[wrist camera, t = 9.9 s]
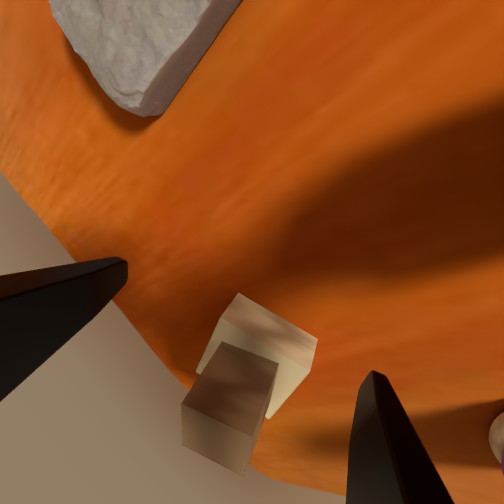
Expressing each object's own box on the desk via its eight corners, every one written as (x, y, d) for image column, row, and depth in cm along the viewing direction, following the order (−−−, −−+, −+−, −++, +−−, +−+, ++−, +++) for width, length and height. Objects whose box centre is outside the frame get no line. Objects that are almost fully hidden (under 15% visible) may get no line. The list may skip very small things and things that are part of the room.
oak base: (318, 336, 25) (310, 371, 21) (281, 383, 29) (269, 419, 26) (240, 290, 26) (220, 317, 22) (215, 342, 30) (195, 371, 27)
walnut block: (279, 363, 22) (252, 437, 17) (269, 402, 25) (243, 476, 20) (221, 341, 24) (181, 403, 18) (218, 380, 26) (181, 444, 21)
